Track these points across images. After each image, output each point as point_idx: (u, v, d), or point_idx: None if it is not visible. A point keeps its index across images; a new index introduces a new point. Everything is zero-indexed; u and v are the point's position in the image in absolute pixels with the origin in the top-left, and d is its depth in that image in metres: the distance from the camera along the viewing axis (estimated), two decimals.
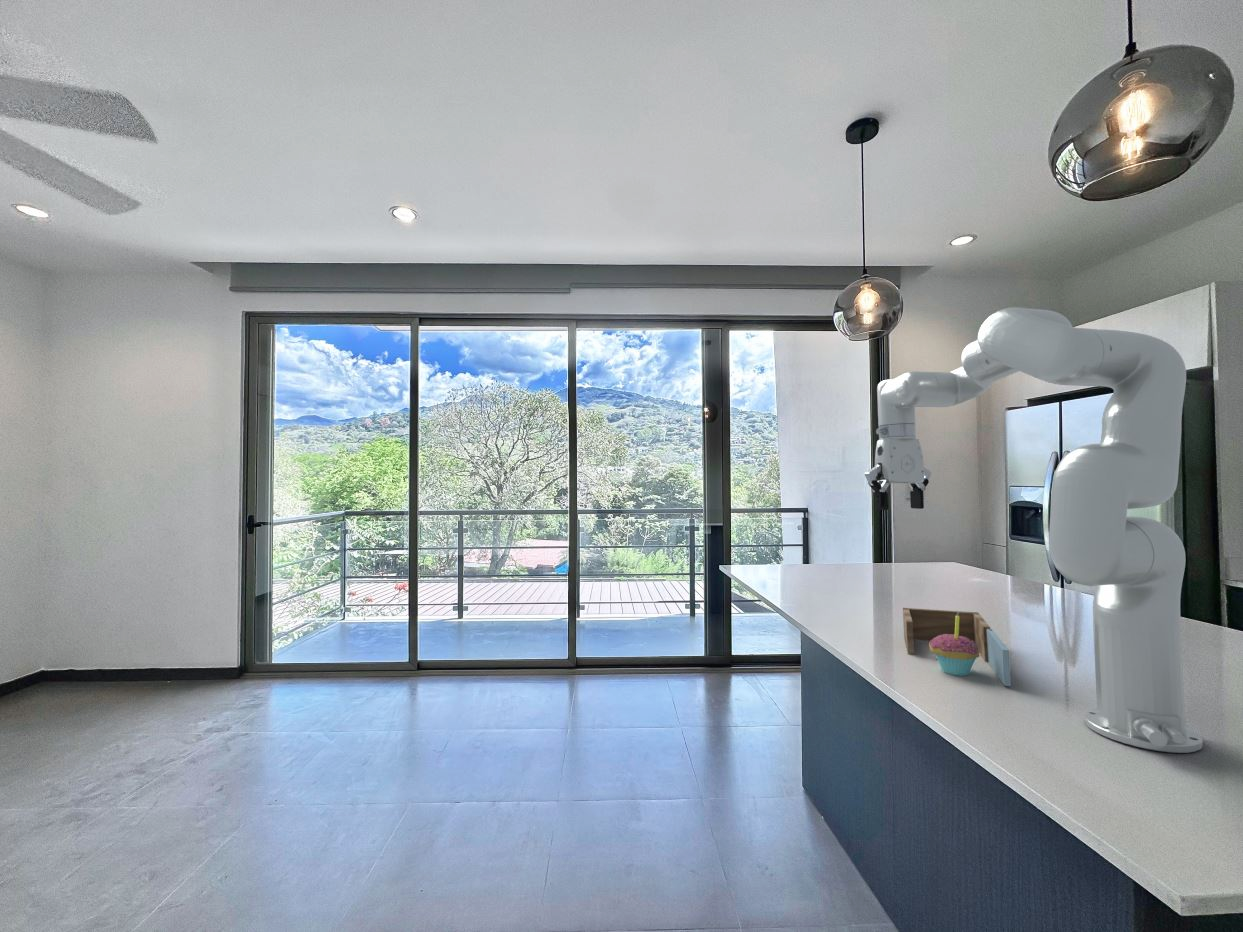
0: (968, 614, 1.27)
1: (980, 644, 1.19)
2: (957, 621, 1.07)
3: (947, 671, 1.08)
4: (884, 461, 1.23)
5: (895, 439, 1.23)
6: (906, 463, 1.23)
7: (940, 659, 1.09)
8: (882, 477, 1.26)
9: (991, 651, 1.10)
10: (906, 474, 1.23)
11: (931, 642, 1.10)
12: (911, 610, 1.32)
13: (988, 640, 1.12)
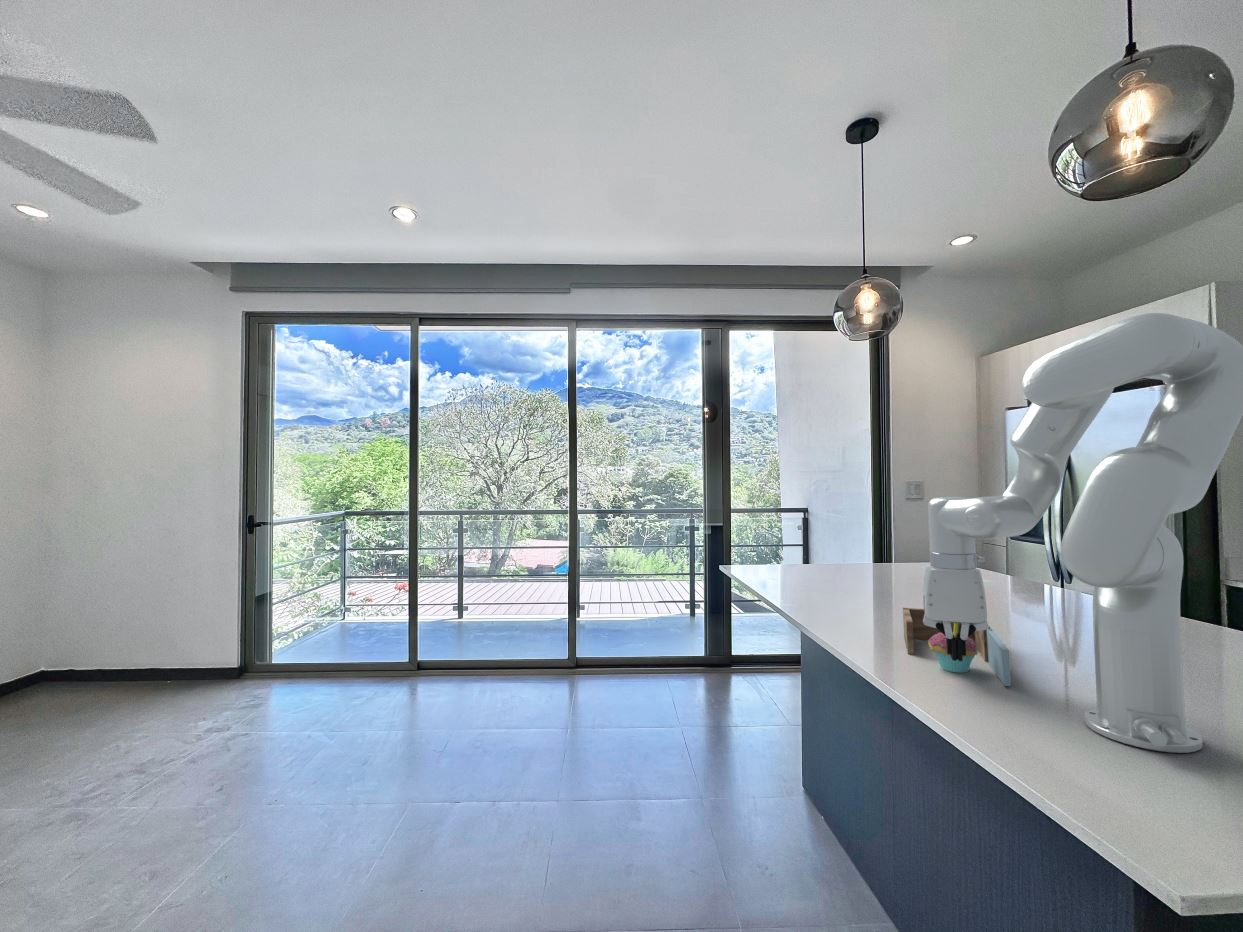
0: None
1: (980, 644, 1.19)
2: None
3: (946, 668, 1.09)
4: None
5: None
6: None
7: (939, 656, 1.10)
8: None
9: (991, 651, 1.10)
10: None
11: (930, 640, 1.12)
12: (911, 610, 1.32)
13: (988, 640, 1.12)
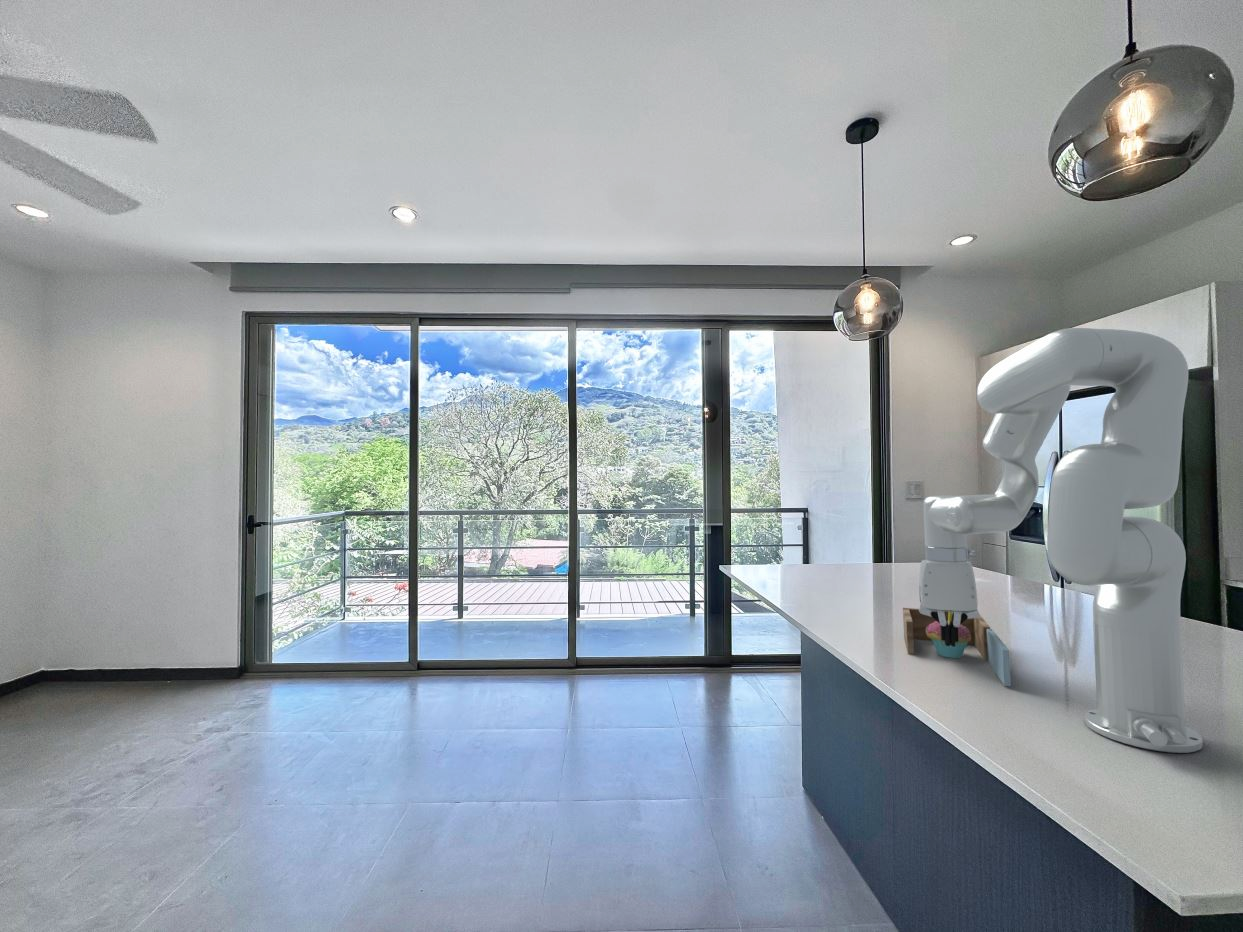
0: None
1: (980, 644, 1.19)
2: None
3: (941, 654, 1.18)
4: None
5: None
6: None
7: (935, 643, 1.19)
8: None
9: (991, 651, 1.10)
10: None
11: (927, 627, 1.21)
12: (911, 610, 1.32)
13: (988, 640, 1.12)
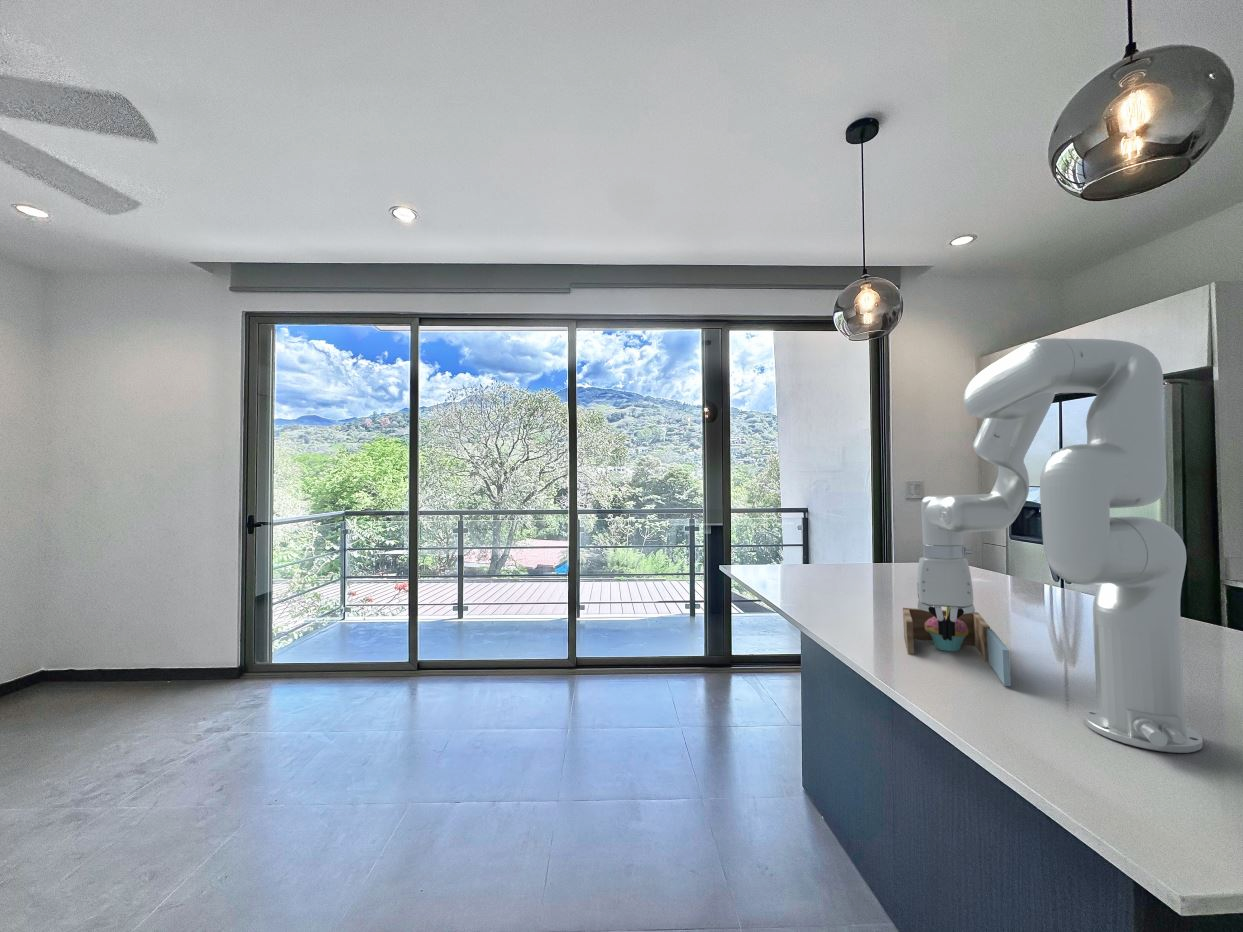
0: (968, 614, 1.27)
1: (980, 644, 1.19)
2: None
3: (939, 647, 1.23)
4: None
5: None
6: None
7: (933, 637, 1.24)
8: None
9: (991, 651, 1.10)
10: None
11: (926, 622, 1.26)
12: (911, 610, 1.32)
13: (988, 640, 1.12)
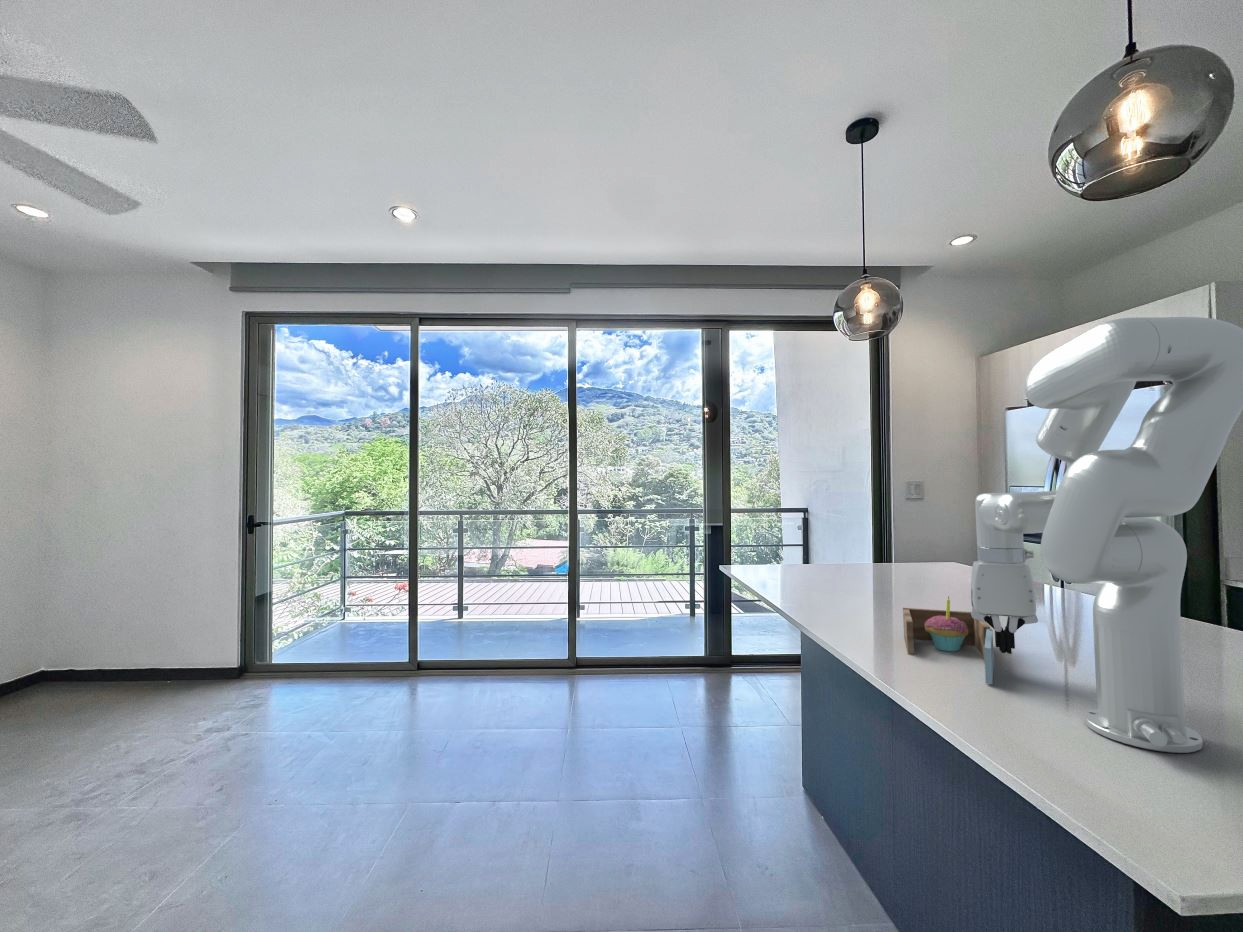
0: (968, 614, 1.27)
1: (980, 644, 1.19)
2: (948, 604, 1.22)
3: (939, 647, 1.23)
4: None
5: None
6: None
7: (933, 637, 1.24)
8: None
9: None
10: None
11: (926, 622, 1.26)
12: (911, 610, 1.32)
13: None
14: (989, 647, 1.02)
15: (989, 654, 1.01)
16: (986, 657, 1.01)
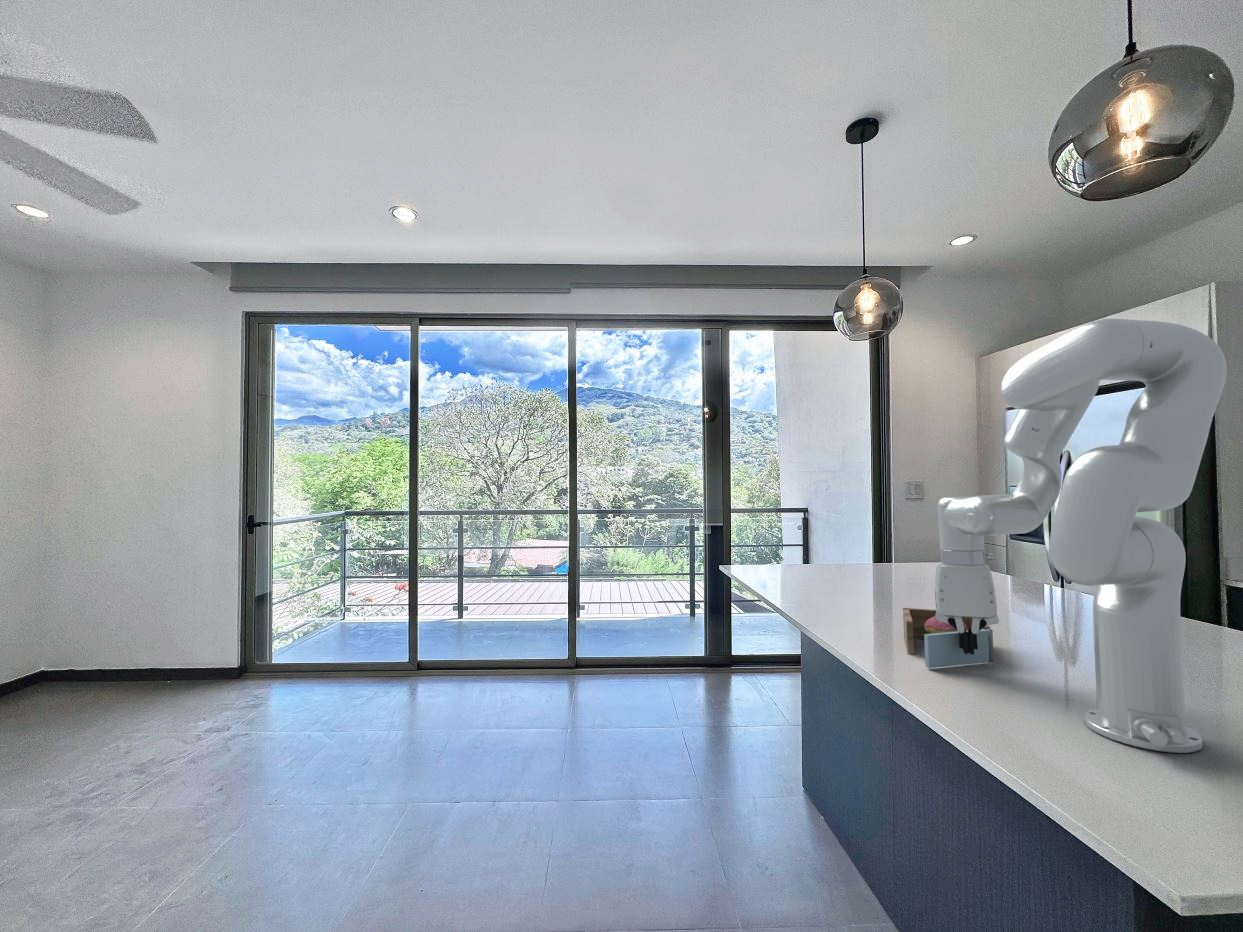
0: None
1: None
2: None
3: None
4: None
5: None
6: None
7: None
8: None
9: None
10: None
11: (926, 622, 1.26)
12: (911, 610, 1.32)
13: None
14: (929, 635, 1.11)
15: (927, 641, 1.10)
16: (925, 643, 1.11)
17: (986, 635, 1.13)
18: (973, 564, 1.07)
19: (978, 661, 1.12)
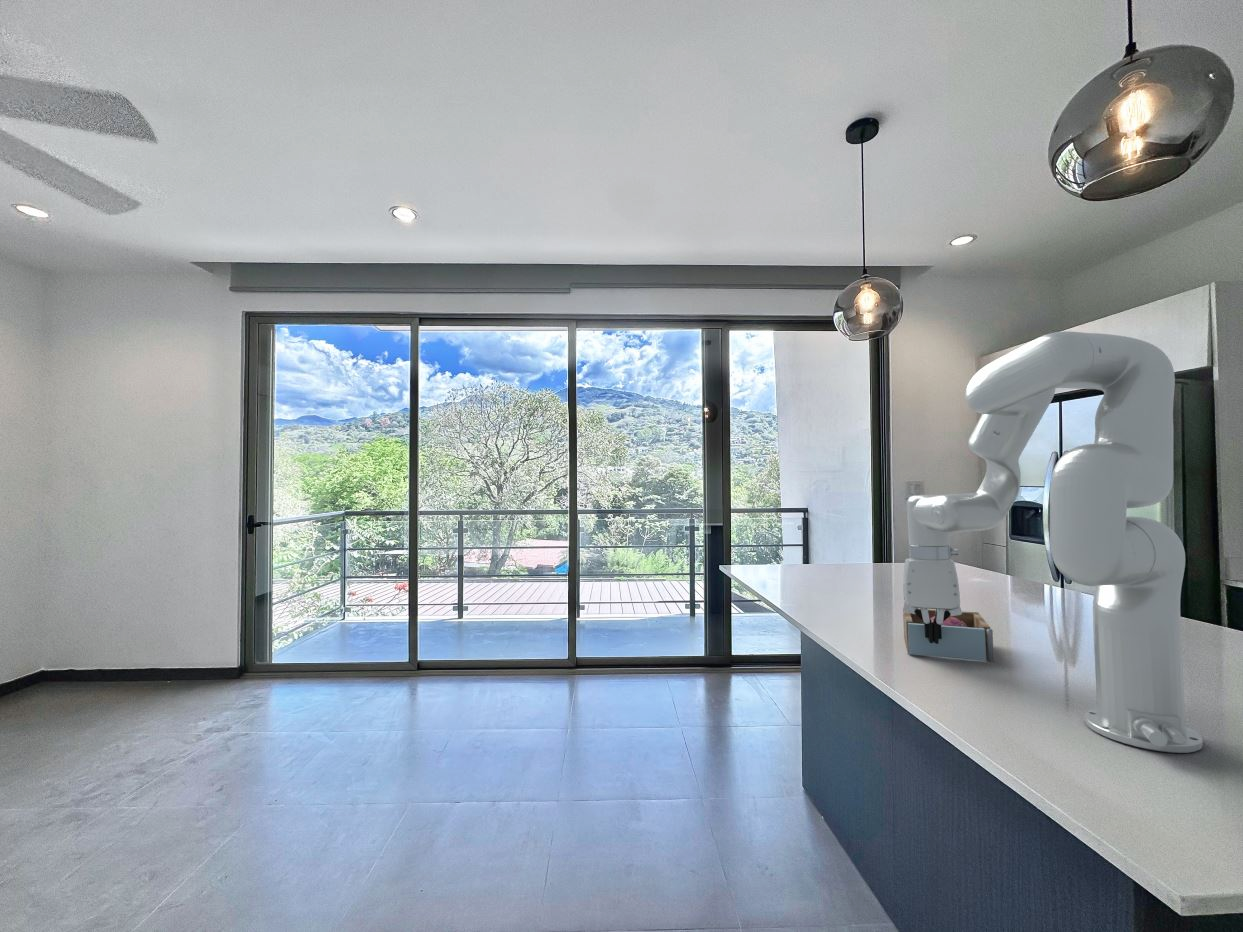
0: (968, 614, 1.27)
1: None
2: None
3: None
4: None
5: None
6: None
7: None
8: None
9: None
10: None
11: None
12: None
13: None
14: (911, 624, 1.19)
15: (908, 628, 1.19)
16: None
17: (982, 634, 1.14)
18: (939, 559, 1.13)
19: (971, 658, 1.14)
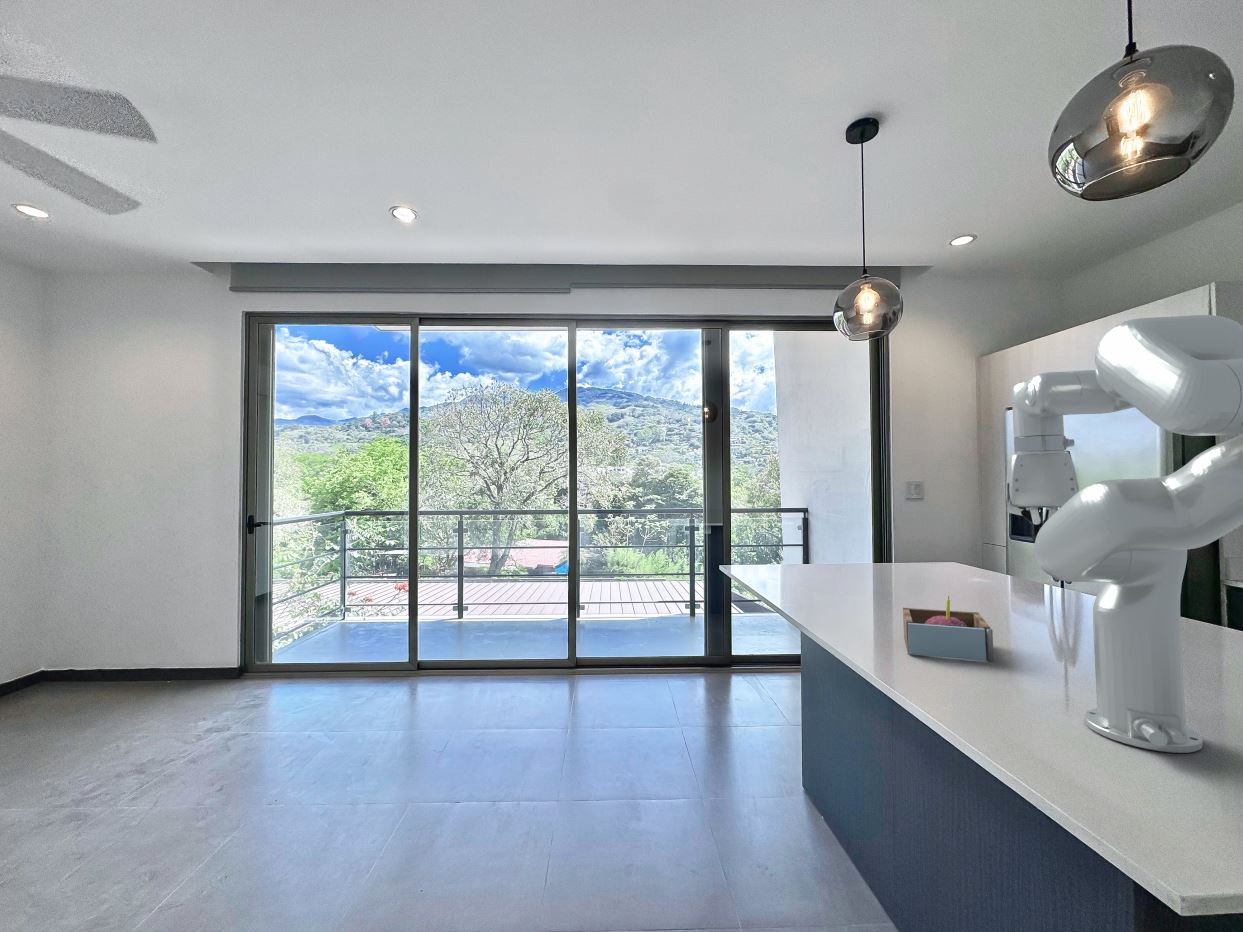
0: (968, 614, 1.27)
1: None
2: (948, 604, 1.22)
3: None
4: None
5: None
6: None
7: None
8: None
9: None
10: None
11: (926, 622, 1.26)
12: (911, 610, 1.32)
13: None
14: (911, 624, 1.19)
15: (908, 628, 1.19)
16: None
17: (982, 634, 1.14)
18: (1053, 449, 1.00)
19: (971, 658, 1.14)
